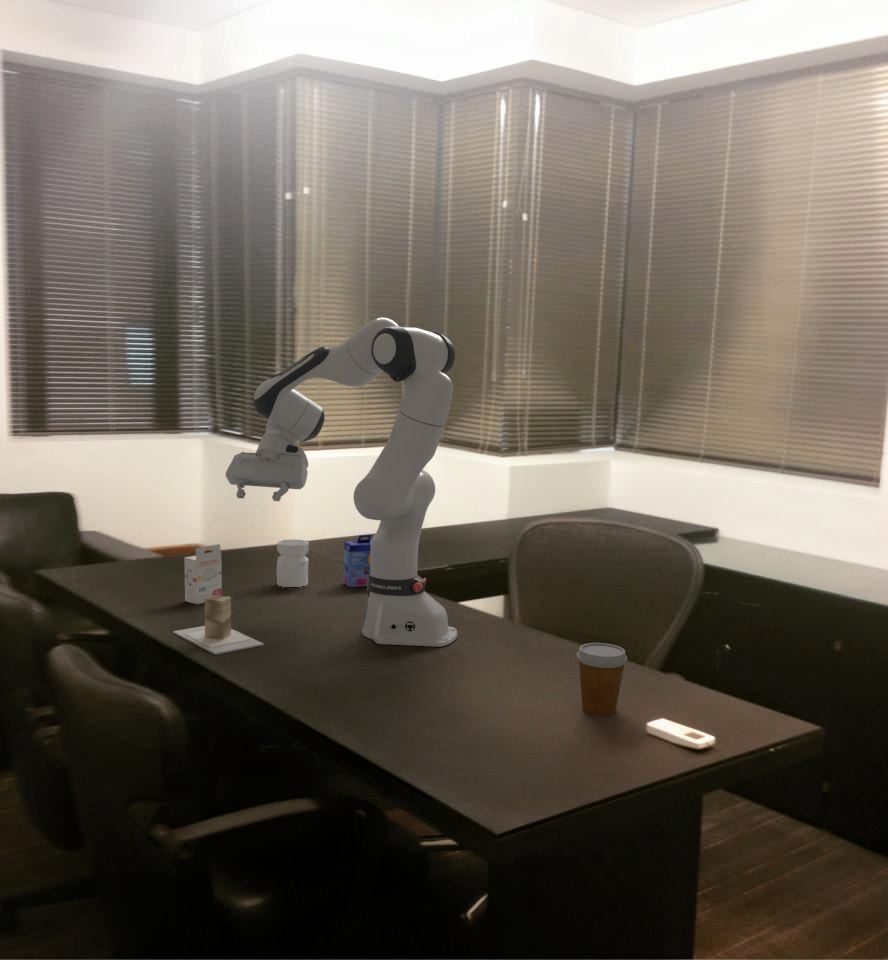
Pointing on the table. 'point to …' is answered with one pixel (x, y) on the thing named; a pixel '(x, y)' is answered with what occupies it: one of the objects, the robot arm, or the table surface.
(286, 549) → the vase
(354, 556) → the ink cartridge box
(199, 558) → the ink cartridge box
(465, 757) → the table surface
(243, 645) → the grey mat
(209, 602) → the wooden block
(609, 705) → the disposable coffee cup
